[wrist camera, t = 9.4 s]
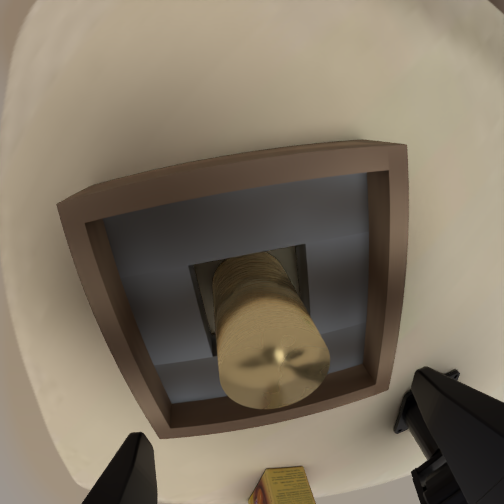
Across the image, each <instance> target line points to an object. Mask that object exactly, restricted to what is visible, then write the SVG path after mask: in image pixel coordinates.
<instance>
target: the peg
mask: <svg viewBox="0 0 504 504" xmlns="http://www.w3.org/2000/svg"><path fill="white" fill-rule="evenodd" d="M213 302H214V317H215V331H216V343H217V356H218V367H219V378H220V384H221V386H222V389H223V390H224V392H225V393H226V394H227V396H228V397H229V398H231V399H232V400H233V401H235V402H237V403H238V404H241V405H243V406H246V407H250V408H255V409H274V408H280V407H284V406H288V405H291V404H293V403H296V402H298V401H300V400H302V399H303V398H305V397H307V396H308V395H309V394H311V393H312V392H313V391H314V390H316V389H317V388H318V386H319V385H320V384H321V383H322V382H323V380H324V379H325V377H326V375H327V373H328V370H329V366H330V354H329V350H328V348H327V346H326V344H325V342H324V340H323V339H322V337H321V335H320V333H319V331H318V330H317V328H316V326H315V324H314V322H313V321H312V319H311V317H310V315H309V313H308V312H307V310H306V308H305V306H304V304H303V303H302V301H301V299H300V297H299V295H298V294H297V292H296V290H295V288H294V286H293V285H292V283H291V281H290V279H289V278H288V276H287V274H286V272H285V271H284V269H283V267H282V265H281V264H280V262H279V261H278V260H277V259H276V258H274V257H273V256H272V255H270V254H268V253H266V252H258V253H253V254H247V255H242V256H237V257H231V258H226V259H225V260H224V261H223V262H222V263H221V264H220V265H219V267H218V268H217V270H216V272H215V274H214V277H213Z"/></svg>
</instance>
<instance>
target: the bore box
mask: <svg viewBox="0 0 504 504" xmlns="http://www.w3.org/2000/svg"><path fill="white" fill-rule="evenodd" d="M57 208H58V212H59V215H60V219H61V223H62V226H63V229H64V233H65V236H66V239H67V243H68V246H69V249H70V252H71V255H72V258H73V261H74V264H75V267H76V269H77V272H78V275H79V278H80V281H81V283H82V286H83V288H84V291H85V294H86V296H87V299H88V301H89V304H90V306H91V309H92V311H93V313H94V316H95V318H96V320H97V323H98V325H99V327H100V330H101V332H102V334H103V336H104V338H105V341H106V343H107V345H108V347H109V349H110V351H111V353H112V355H113V357H114V359H115V361H116V363H117V365H118V367H119V369H120V371H121V373H122V375H123V377H124V379H125V381H126V383H127V385H128V386H129V388H130V390H131V392H132V394H133V395H134V397H135V399H136V401H137V403H138V404H139V406H140V408H141V409H142V411H143V413H144V415H145V416H146V418H147V419H148V421H149V423H150V424H151V426H152V428H153V429H154V431H155V432H156V434H157V436H158V437H159V439H169V438H181V437H191V436H200V435H208V434H216V433H223V432H229V431H236V430H242V429H247V428H253V427H258V426H263V425H268V424H273V423H278V422H282V421H287V420H291V419H295V418H299V417H303V416H307V415H311V414H315V413H318V412H322V411H326V410H329V409H333V408H336V407H339V406H343V405H346V404H349V403H352V402H355V401H358V400H361V399H364V398H367V397H370V396H373V395H376V394H379V393H381V392H384V391H387V390H388V389H389V384H390V379H391V374H392V369H393V364H394V359H395V353H396V347H397V341H398V335H399V328H400V321H401V313H402V305H403V297H404V287H405V276H406V263H407V247H408V220H409V181H408V155H407V145H405V144H398V143H390V142H381V141H372V140H351V141H338V142H327V143H316V144H307V145H298V146H289V147H281V148H273V149H266V150H259V151H252V152H246V153H239V154H233V155H227V156H221V157H215V158H210V159H204V160H199V161H194V162H189V163H184V164H179V165H174V166H169V167H165V168H160V169H156V170H151V171H147V172H143V173H138V174H134V175H130V176H126V177H122V178H118V179H114V180H110V181H107V182H103V183H99V184H96V185H92V186H89V187H88V188H86V189H84V190H82V191H80V192H78V193H76V194H74V195H72V196H70V197H68V198H67V199H65V200H63V201H61V202H59V203H57ZM295 245H296V255H297V266H298V278H299V289H300V299H301V301H302V303H303V304H304V306H305V308H306V310H307V312H308V313H309V315H310V317H311V319H312V321H313V322H314V324H315V326H316V328H317V330H318V331H319V333H320V335H321V337H322V339H323V340H324V342H325V344H326V346H327V348H328V350H329V354H330V366H329V370H328V373H327V375H326V377H325V379H324V380H323V382H322V383H321V384H320V385H319V386H318V388H317V389H316V390H314V391H313V392H312V393H311V394H309V395H308V396H307V397H305V398H303V399H302V400H300V401H298V402H296V403H293V404H291V405H288V406H284V407H280V408H274V409H255V408H250V407H246V406H243V405H241V404H238V403H237V402H235V401H233V400H232V399H231V398H229V397H228V396H227V394H226V393H225V392H224V390H223V389H222V386H221V384H220V378H219V367H218V356H217V343H216V334H214V335H211V332H210V328H209V325H208V321H207V317H206V313H205V309H204V306H203V302H202V298H201V294H200V290H199V286H198V282H197V278H196V273H195V269H194V264H199V263H205V262H210V261H215V260H221V259H226V258H231V257H237V256H242V255H247V254H253V253H258V252H263V251H269V250H274V249H279V248H285V247H290V246H295Z"/></svg>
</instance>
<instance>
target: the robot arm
mask: <svg viewBox="0 0 504 504" xmlns="http://www.w3.org/2000/svg"><path fill="white" fill-rule="evenodd" d="M459 375H460V373H459V372H458V371H457V370H455V371H453V372H451V373H449V374H447V375H444V374H442V373H440V372H438V371H436V370H434V369H432V368H429V367H423V368H420V369H418V370H416V372H415V375H414V378H413V382H412V386H411V389H412V391H410V392H408V393H407V394H406V395H405V396H404V399H403V403H402V406H401V409H400V413H399V416H398V419H397V422H396V425H395V428H394V432H395V433H396V434H398V433H400V432H403V431H405V430H407V429H409V430H410V432H411V434H412V435H413V437H414V439H415V440H416V442H417V444H418V445H419V447H420V448H421V450H422V452H423V453H424V455H425V457H426V458H427V461H426V462H425V463H423V464H422V465H421V466H419V467H418V468H415V469H414V470H413V471H411V474H412V477H413V482H414V485H415V488H416V491H417V494H418V497H419V500H420V503H421V504H504V402H501V401H499V400H497V399H495V398H493V397H491V396H488V395H486V394H484V393H482V392H480V391H478V390H476V389H473V388H471V387H469V386H467V385H465V384H463V383H461V382H459V381H457V380H458V377H459ZM82 504H157V481H156V471H155V460H154V450H153V447H152V445H151V443H150V442H149V440H148V439H147V437H146V436H145V434H144V433H142V432H133V433H130V434H129V435H128V437H127V438H126V440H125V441H124V443H123V444H122V445H121V447H120V448H119V450H118V451H117V453H116V454H115V456H114V457H113V459H112V460H111V462H110V463H109V464H108V466H107V467H106V469H105V470H104V472H103V473H102V475H101V476H100V478H99V479H98V480H97V482H96V483H95V485H94V486H93V488H92V489H91V491H90V492H89V494H88V495H87V497H86V498H85V499H84V501H83V502H82Z"/></svg>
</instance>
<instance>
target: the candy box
mask: <svg viewBox="0 0 504 504" xmlns="http://www.w3.org/2000/svg"><path fill="white" fill-rule="evenodd" d="M248 504H316V503H315V500H314V497H313V494H312V491H311V488H310V485H309V482H308V479H307V476H306V473H305V470H304V468H303V467H302V466H300V467H287V468H272V469H266V470H265V472H264V474H263V476H262V477H261V479H260V482H259V483H258V485H257V486H256V488H255V490H254V492H253V494H252V495H251V497H250V499H249V501H248Z"/></svg>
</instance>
